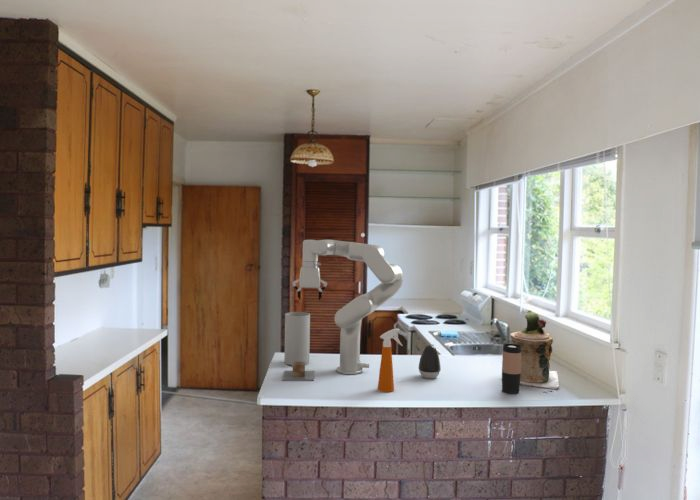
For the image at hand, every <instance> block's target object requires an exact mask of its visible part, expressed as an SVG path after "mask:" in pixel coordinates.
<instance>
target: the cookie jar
mask: <svg viewBox="0 0 700 500" xmlns="http://www.w3.org/2000/svg"><path fill="white" fill-rule="evenodd" d="M524 318H525V319H526V328H523V329H522V330H519V331H516V332H515V331H514V332H511V333H510V334H509V337H510V340H511V341H510V344H517V345H520V346H521V375H520V386H527V387H528V386H529V387H536V388H541V389H542V388H544V389H550V390H556V389H558V388H559V387H560V383H559V382H560V379H559V376H558V371H557V370H556V371H555V370H550V369H551V368H550V365H551V364H550V360H551V356H552V353H553V347H552V344H553V343H554V340H553V338H552V337H551V335H550V333H547V332H545V331H544V328H545V327H546V324H547V321H546V320H545V319H543V318H540V317H539V314H538V313H536V312H533V311H532V310H530V309H528V310H527V313H526V314H525V315H524Z"/></svg>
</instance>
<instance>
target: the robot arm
mask: <svg viewBox="0 0 700 500" xmlns="http://www.w3.org/2000/svg"><path fill="white" fill-rule="evenodd" d="M385 255H386V253H385V250H384V248H383V247H382V246H380V245H376V244H370V243H361V242H355V241H343V240H338V239H337V240H336V239H317V240H316V239H304V240H303V241H302V262H301V263H302V266H301V267H300V269H299V270H300V271H299V272H300V273H299V278H298V279H296V280H294V281H292V282H291V283H292V284H291V285H292V286H293V288H294V289H295V290H296V292H297V299H298V300H299V301H301V298H302V297H301V296H302V294H301V293H302V292H301V290H302V289H317V290H318V300H319V301H320V300H321V299H322V292H323V291H324V290H325V289H326V287H327V286H328V282H327V281H325V280H323V279H321V271H320V267H319V266H321V264H322V262H319V256H338V257H339V256H340V257H345V258H347V259H348V260H351V261H355V262H356V261H357V262H364V264H365V265H366V266H367V267H368V269H370V271H371V273H372V274H373V275H374V276H375V277H376V279H378V280H379V282H380V283H379V284H377V285H376V286H375V287H374V288H373V289H371V290H369V291H368V292H366V293H364V294H361V295H358V296H356V297H355V298H354V299H352V300H351V301H349V302H348V303H346V304H345V305H344V306H343V307H341V308H339V309H338V310H337V312H336V313H335V315H334V323H335V326H337V327H338V328H340V333H339V334H340V335H339V336H340V338H339V340H340V341H339V343H340V344H339V366H337V367H336V368H335V369H336V372H337V373H339V374H343V375H357V374H361V373H363V372H364V371H363V368H365V369H369V368H370V363H366V362H361V359H360V356H361V355H360V354H361V353H360V352H361V329H362V328H361V327H362V321H363V319H364V318H365V317H367V316H369V315H371V314H372V313H374V312H375V311H376V310H377V309H378V308H379V307H381V306H382V305H384V304H385V303H386V302H387V301H389V300H390V299H392V298H393V297H394V296H396V294H398V293H399V291H400V290H401V287H402V285H403V281H404V275H403V270H402V268H401V266H399V265H397V264H396V263H395V264H394V263H389V262H388V261H387V260H386V258H385ZM298 283H299V287H298V286H297V284H298ZM321 283H322V284H323V286H322V287H321Z"/></svg>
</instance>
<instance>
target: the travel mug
mask: <svg viewBox="0 0 700 500" xmlns="http://www.w3.org/2000/svg"><path fill="white" fill-rule="evenodd" d="M501 363H502V366H501V391H502V393H505V394H508V395H517V394H518V395H519V394H520V389H521V384H520V375H521V346H520V345H517V344H511V343H504V344H503V345H502V362H501Z"/></svg>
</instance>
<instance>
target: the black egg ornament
mask: <svg viewBox="0 0 700 500" xmlns="http://www.w3.org/2000/svg"><path fill="white" fill-rule="evenodd" d="M418 371H419V374H420V375H421V377H423V378H425V379H430V380H431V379H436V378H437V377H438V376H439V374H440V372H441V360H440V356H439V351H438V350H437V347H436V346H435V344H428V345H426V346H425V347H424V348H423V349H422V352H421V354H420V358H419V362H418Z"/></svg>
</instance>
